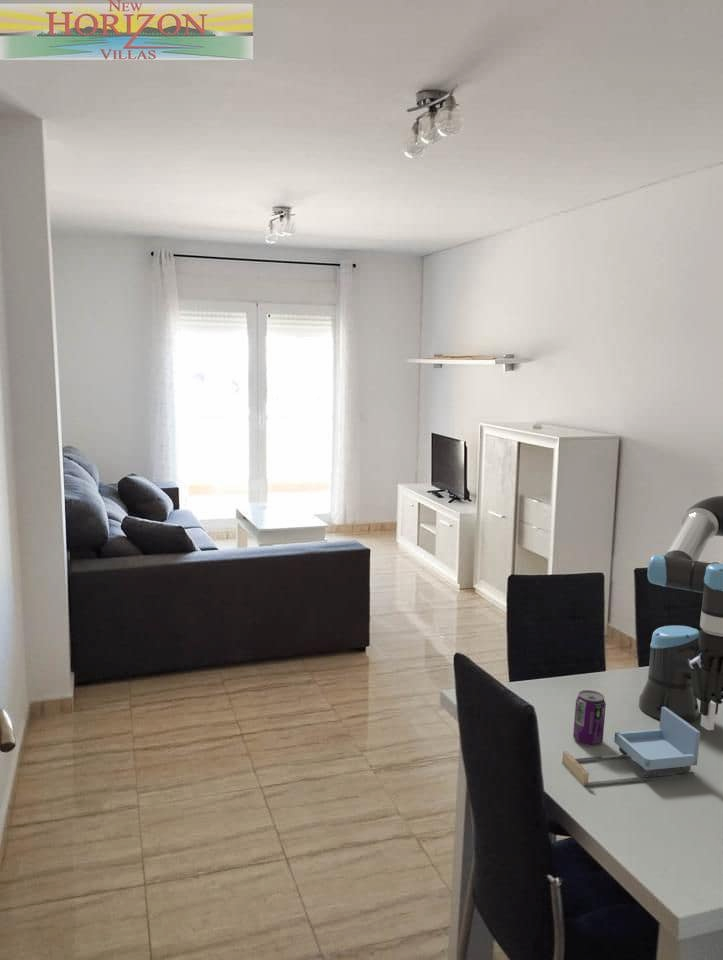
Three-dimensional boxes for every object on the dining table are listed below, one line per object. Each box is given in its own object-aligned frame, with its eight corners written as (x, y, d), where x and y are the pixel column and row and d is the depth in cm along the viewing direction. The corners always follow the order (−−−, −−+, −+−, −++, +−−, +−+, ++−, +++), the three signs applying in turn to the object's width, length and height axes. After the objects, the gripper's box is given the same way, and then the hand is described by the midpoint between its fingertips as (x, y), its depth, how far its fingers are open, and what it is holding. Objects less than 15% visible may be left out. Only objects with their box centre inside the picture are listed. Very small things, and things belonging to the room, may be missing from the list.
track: (665, 752, 184) (666, 740, 183) (694, 775, 173) (695, 763, 173) (561, 762, 177) (562, 750, 177) (584, 787, 167) (585, 774, 166)
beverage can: (604, 749, 184) (607, 702, 182) (573, 745, 185) (577, 699, 184) (600, 736, 191) (604, 690, 189) (571, 732, 192) (575, 687, 191)
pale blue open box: (661, 747, 184) (665, 706, 183) (695, 775, 172) (700, 731, 170) (613, 751, 181) (616, 710, 180) (645, 780, 169) (649, 736, 167)
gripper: (730, 624, 180) (720, 718, 183) (682, 626, 177) (672, 722, 180) (752, 635, 173) (741, 732, 176) (703, 637, 170) (693, 736, 173)
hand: (706, 727), depth 178 cm, fingers closed
